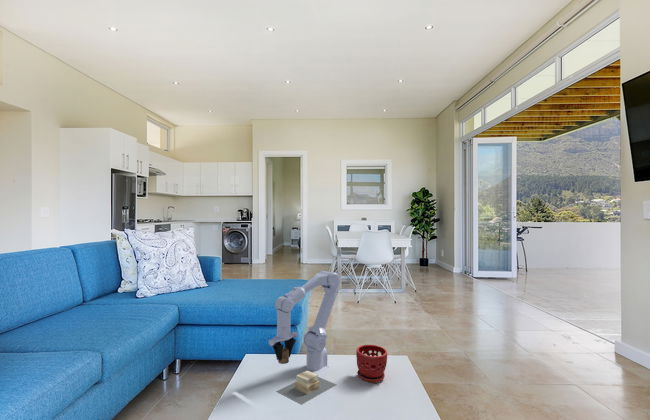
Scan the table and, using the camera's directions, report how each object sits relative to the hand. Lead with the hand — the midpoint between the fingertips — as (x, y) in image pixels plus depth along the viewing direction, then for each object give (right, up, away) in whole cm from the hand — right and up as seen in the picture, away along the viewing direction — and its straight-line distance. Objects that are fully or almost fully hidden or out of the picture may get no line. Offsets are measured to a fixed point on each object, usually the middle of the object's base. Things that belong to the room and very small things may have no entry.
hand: (283, 358), depth 143 cm
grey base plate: (+10, -9, -10) cm, 17 cm away
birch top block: (+10, -5, -9) cm, 15 cm away
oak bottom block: (+10, -8, -10) cm, 16 cm away
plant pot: (+37, -9, +1) cm, 39 cm away
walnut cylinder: (0, -1, 0) cm, 2 cm away
